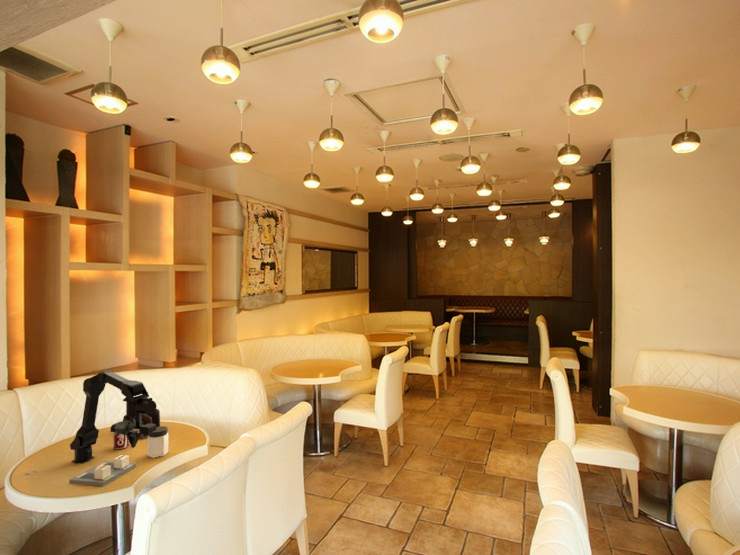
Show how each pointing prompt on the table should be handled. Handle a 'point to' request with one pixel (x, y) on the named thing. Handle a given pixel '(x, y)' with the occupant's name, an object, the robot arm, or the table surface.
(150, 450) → the jar
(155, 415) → the letter holder
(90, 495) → the table surface
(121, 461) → the tab far
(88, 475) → the switch board
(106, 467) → the tab near
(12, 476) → the table surface
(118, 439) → the soda can
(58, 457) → the table surface
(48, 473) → the table surface
